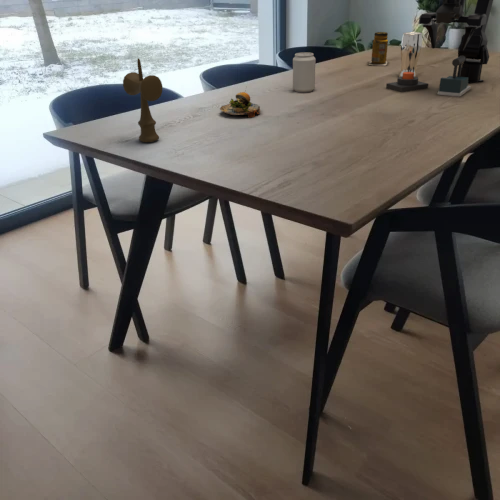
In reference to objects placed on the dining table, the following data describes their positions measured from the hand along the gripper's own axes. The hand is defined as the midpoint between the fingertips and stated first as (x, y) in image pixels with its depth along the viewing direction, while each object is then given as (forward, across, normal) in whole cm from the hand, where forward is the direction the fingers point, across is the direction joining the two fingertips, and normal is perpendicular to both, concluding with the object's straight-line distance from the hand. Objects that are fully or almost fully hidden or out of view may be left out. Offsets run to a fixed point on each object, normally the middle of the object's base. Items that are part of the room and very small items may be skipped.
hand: (447, 49), depth 162 cm
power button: (+10, -12, -1) cm, 15 cm away
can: (+13, -40, -20) cm, 47 cm away
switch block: (+13, -12, -1) cm, 18 cm away
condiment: (+14, -40, +37) cm, 57 cm away
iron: (+13, +3, +1) cm, 13 cm away
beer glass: (+14, -19, +18) cm, 29 cm away
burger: (+12, -40, -55) cm, 69 cm away
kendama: (+12, -43, -88) cm, 99 cm away
